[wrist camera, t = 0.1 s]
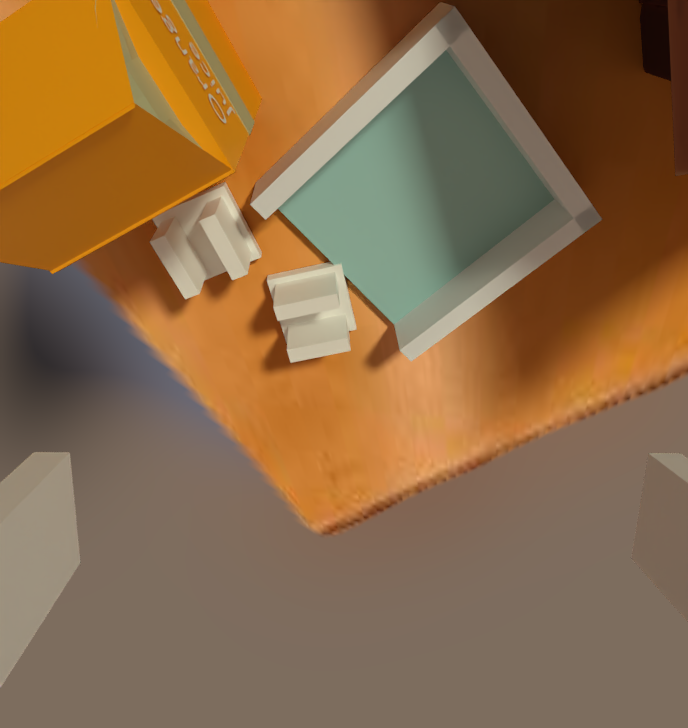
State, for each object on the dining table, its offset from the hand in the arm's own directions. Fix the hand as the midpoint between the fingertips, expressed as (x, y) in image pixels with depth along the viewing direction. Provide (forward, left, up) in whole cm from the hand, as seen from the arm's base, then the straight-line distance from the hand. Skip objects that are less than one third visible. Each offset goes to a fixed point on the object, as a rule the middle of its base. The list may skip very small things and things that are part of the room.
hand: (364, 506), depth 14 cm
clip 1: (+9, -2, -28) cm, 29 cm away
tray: (-2, +5, -28) cm, 28 cm away
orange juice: (+4, -10, -28) cm, 30 cm away
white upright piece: (+7, +6, -28) cm, 29 cm away
